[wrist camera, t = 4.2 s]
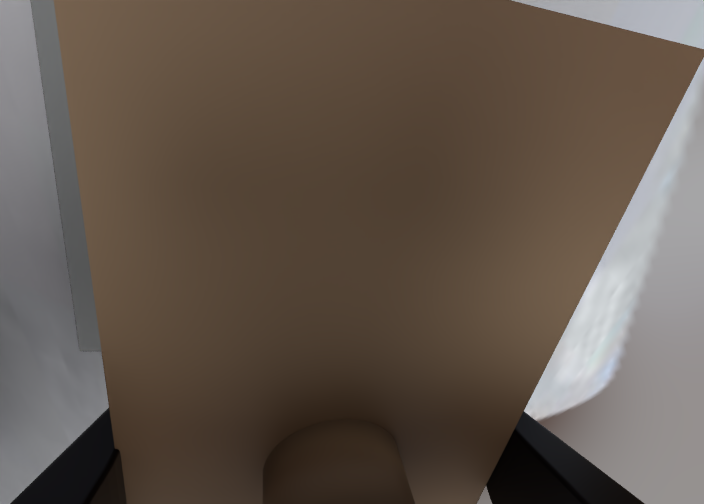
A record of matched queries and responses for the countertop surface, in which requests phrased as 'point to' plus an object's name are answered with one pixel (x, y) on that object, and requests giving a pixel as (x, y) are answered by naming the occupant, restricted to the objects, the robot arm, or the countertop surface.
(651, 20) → the countertop surface
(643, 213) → the countertop surface
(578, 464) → the robot arm
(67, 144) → the rubber mat
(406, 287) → the walnut lid
